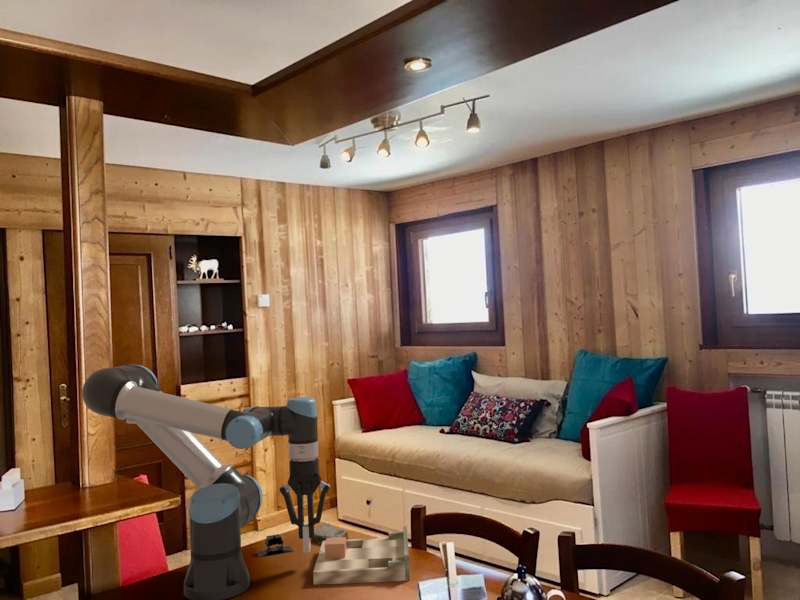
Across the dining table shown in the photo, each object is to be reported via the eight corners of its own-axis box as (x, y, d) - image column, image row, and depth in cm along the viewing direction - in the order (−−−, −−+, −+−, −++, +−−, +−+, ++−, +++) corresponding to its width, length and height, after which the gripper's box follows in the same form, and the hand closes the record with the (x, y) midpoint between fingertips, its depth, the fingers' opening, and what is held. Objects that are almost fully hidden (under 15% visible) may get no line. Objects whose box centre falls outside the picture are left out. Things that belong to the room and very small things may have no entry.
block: (325, 558, 165) (324, 544, 165) (327, 551, 170) (326, 537, 170) (345, 557, 165) (344, 543, 165) (346, 550, 170) (345, 537, 170)
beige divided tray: (313, 584, 156) (312, 559, 157) (323, 551, 178) (322, 529, 179) (409, 580, 157) (408, 555, 157) (407, 548, 179) (406, 526, 179)
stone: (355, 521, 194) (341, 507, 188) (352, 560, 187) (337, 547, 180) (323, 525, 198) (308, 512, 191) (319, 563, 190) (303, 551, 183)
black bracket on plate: (254, 561, 175) (253, 544, 175) (249, 553, 181) (248, 536, 181) (299, 553, 180) (299, 536, 180) (293, 545, 186) (292, 529, 186)
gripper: (275, 462, 164) (279, 557, 164) (327, 460, 165) (331, 555, 164) (280, 456, 172) (284, 546, 171) (330, 454, 172) (333, 544, 171)
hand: (307, 550), depth 168 cm, fingers closed
